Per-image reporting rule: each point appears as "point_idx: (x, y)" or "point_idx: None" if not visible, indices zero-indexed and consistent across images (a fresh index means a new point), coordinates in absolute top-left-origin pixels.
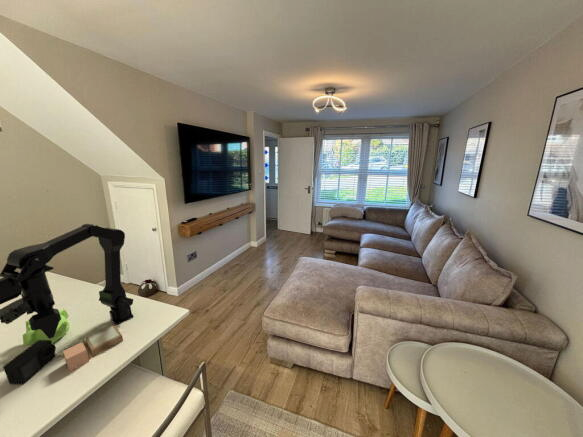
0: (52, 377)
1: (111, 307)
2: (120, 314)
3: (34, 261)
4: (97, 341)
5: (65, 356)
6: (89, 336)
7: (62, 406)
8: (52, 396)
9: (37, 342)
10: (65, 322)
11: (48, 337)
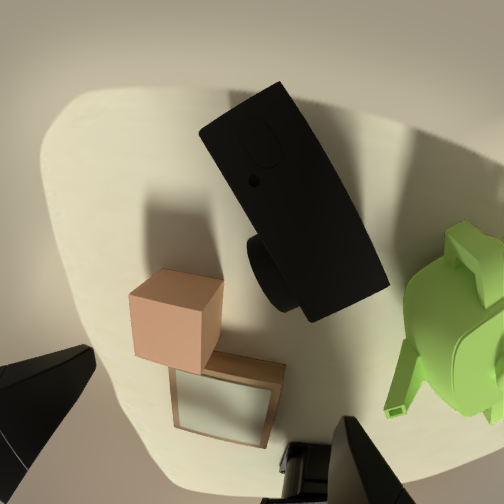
0: (179, 221)
1: (326, 495)
2: (288, 477)
3: None
4: (203, 390)
5: (151, 301)
6: (268, 394)
7: (50, 205)
8: (94, 196)
9: (369, 273)
10: (396, 412)
11: (68, 349)
